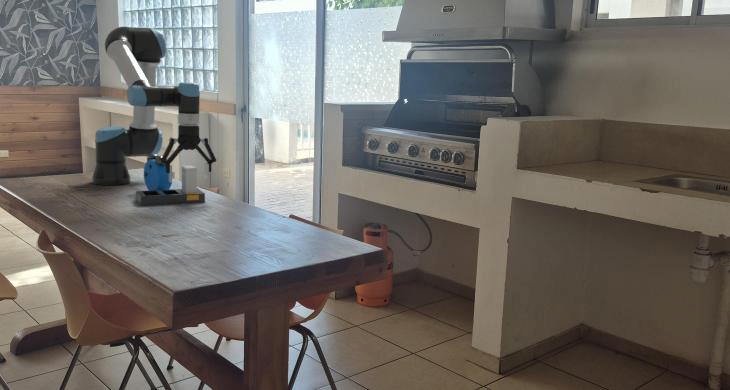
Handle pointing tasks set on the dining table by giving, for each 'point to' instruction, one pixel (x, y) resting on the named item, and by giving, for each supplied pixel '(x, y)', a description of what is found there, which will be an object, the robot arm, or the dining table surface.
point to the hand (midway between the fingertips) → (188, 181)
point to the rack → (168, 197)
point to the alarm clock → (156, 174)
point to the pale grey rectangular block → (189, 179)
